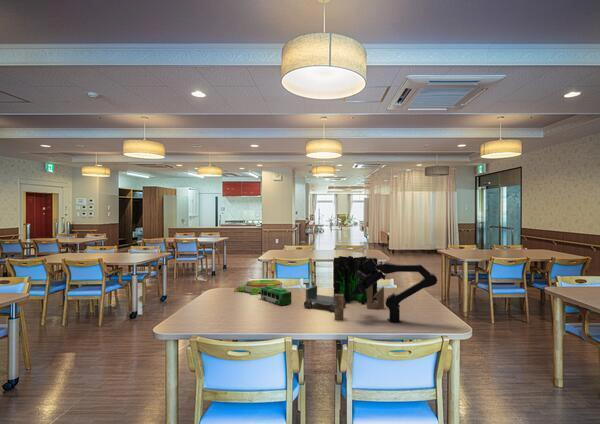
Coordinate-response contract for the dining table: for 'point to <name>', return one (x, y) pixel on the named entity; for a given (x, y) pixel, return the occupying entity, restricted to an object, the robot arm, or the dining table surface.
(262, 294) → the toy bus
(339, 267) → the decorative plant
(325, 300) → the trolley
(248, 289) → the green piece
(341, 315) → the brown rectangular pillar
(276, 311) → the dining table surface
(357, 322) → the dining table surface
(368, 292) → the wooden block
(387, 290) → the dining table surface
